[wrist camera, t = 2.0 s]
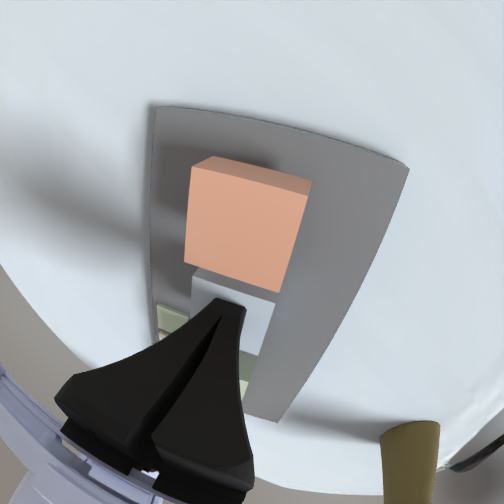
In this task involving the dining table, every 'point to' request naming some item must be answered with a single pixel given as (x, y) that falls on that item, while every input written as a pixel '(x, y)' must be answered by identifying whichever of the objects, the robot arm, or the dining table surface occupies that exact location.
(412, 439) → the cork
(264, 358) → the keypad base
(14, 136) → the dining table surface
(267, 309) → the key blue
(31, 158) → the dining table surface
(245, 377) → the key sage
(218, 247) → the key terracotta
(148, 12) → the dining table surface
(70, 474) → the robot arm
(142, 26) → the dining table surface
